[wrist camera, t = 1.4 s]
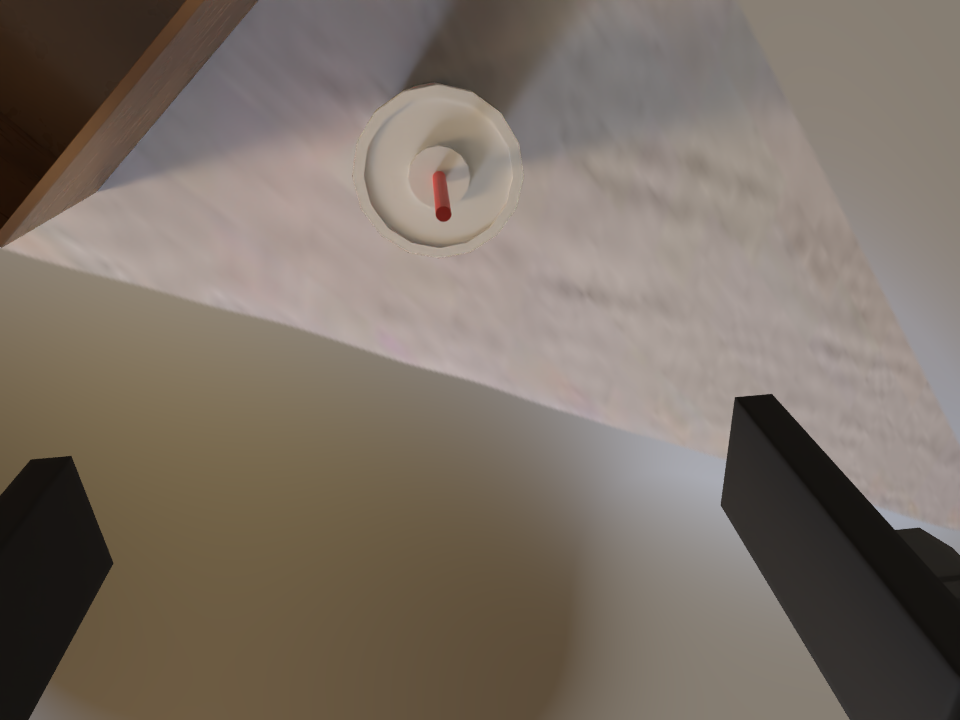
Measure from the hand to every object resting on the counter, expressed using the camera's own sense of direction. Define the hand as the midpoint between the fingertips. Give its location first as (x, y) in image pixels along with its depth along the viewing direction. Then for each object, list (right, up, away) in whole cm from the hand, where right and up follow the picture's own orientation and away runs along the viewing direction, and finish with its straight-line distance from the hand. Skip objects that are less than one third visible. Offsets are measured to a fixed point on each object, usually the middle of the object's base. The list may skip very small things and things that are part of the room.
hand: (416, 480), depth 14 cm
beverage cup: (-1, +13, +19) cm, 23 cm away
